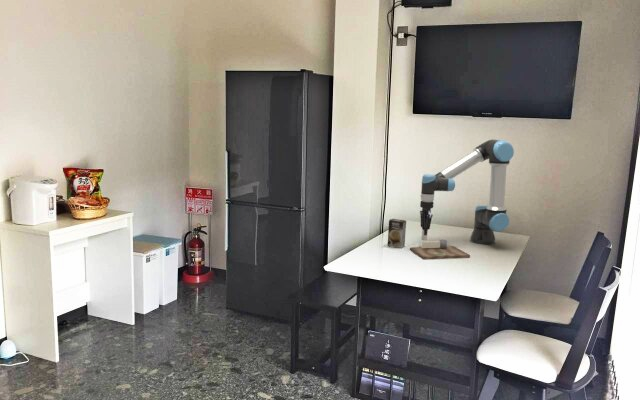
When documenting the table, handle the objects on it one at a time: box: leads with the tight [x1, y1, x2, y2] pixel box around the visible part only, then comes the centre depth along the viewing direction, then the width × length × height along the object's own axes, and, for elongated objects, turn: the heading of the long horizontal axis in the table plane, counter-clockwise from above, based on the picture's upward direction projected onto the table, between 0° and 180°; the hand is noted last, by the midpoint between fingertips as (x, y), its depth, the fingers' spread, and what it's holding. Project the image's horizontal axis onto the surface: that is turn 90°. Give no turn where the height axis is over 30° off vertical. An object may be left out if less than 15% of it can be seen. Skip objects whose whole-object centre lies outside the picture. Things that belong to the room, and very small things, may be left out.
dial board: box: [409, 245, 471, 260], centre depth 309 cm, size 28×20×2 cm
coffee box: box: [387, 218, 407, 249], centre depth 322 cm, size 9×6×16 cm
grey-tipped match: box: [421, 239, 448, 249], centre depth 315 cm, size 15×4×4 cm, turn 103°
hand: (424, 240), depth 319 cm, fingers closed
